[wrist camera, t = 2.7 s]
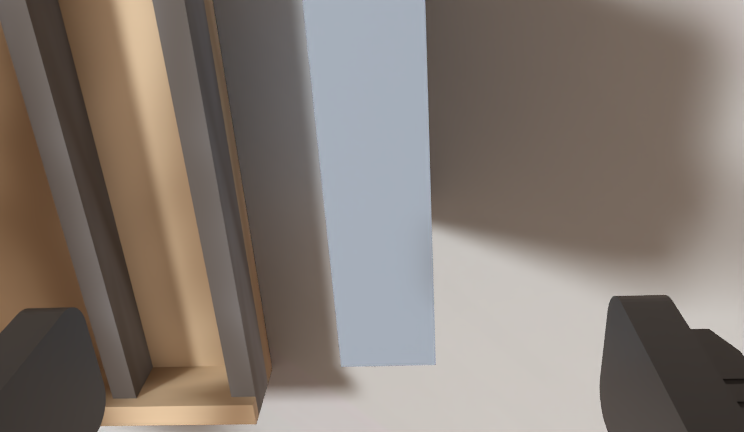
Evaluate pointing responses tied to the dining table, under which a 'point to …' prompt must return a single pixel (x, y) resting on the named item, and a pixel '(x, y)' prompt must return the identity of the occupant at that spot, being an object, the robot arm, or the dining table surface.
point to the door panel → (375, 175)
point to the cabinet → (131, 203)
